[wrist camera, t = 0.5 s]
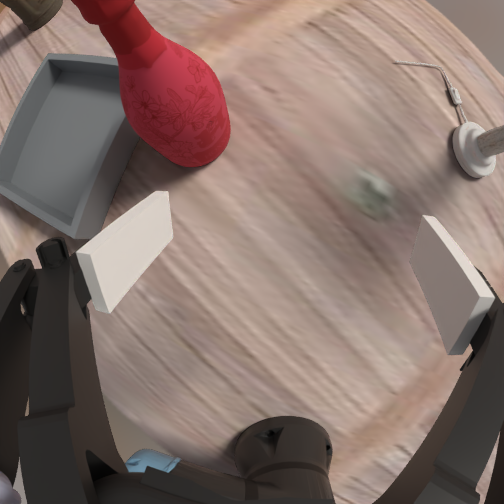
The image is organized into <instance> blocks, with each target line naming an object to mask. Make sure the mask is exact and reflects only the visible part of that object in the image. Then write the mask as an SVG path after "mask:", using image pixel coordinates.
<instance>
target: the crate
mask: <svg viewBox="0 0 504 504" xmlns="http://www.w3.org/2000/svg"><path fill="white" fill-rule="evenodd" d="M139 138H140V136H139V135H138V134H137V133H136V132H135V131H134V129H133V128H132V127H131V125H130V123H129V122H128V120H127V117H126V115H125V112H124V109H123V106H122V102H121V96H120V84H119V67H118V61H117V58H111V57H102V56H92V55H78V54H54V53H48V54H47V56H46V57H45V59H44V60H43V62H42V64H41V65H40V67H39V68H38V70H37V72H36V73H35V75H34V77H33V78H32V80H31V82H30V84H29V86H28V87H27V89H26V91H25V93H24V95H23V97H22V99H21V101H20V103H19V105H18V107H17V109H16V111H15V113H14V115H13V117H12V119H11V121H10V124H9V126H8V128H7V130H6V133H5V135H4V138H3V140H2V143H1V145H0V193H1V194H2V195H4V196H5V197H7V198H8V199H10V200H11V201H13V202H14V203H16V204H17V205H19V206H21V207H22V208H24V209H25V210H27V211H28V212H30V213H32V214H33V215H35V216H36V217H38V218H40V219H41V220H43V221H45V222H46V223H48V224H49V225H51V226H53V227H54V228H56V229H58V230H59V231H61V232H63V233H65V234H66V235H68V236H70V237H71V238H73V239H91V238H93V237H94V236H95V235H96V234H98V233H100V231H101V228H102V226H103V223H104V220H105V217H106V215H107V212H108V209H109V207H110V204H111V202H112V199H113V196H114V194H115V192H116V189H117V187H118V184H119V182H120V180H121V177H122V175H123V173H124V170H125V168H126V166H127V164H128V161H129V159H130V157H131V155H132V153H133V151H134V149H135V147H136V144H137V142H138V140H139Z"/></svg>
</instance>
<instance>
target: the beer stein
mask: <svg viewBox="0 0 504 504" xmlns="http://www.w3.org/2000/svg"><path fill="white" fill-rule="evenodd" d="M0 2H1V3H3V4H4V5H5V6H7V7H9V8H11V10H12V11H13V12H14V13H15V14H16V15H17V16H19V17H20V18H21V19H22V21H23V23H24V24H25V25H27V26H28V28H29V29H30V30H36V29H38V28H40V27H42V26H43V25H44V24H46V23H47V22H48V21H49V20H50V19H51V18H52V17H53V16H54V15H55V14H56V13H57V12H58V11H59V9H60V7H61V6H62V3H63V0H0Z"/></svg>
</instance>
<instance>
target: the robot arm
mask: <svg viewBox="0 0 504 504" xmlns="http://www.w3.org/2000/svg"><path fill="white" fill-rule="evenodd" d="M172 239H173V230H172V222H171V214H170V205H169V195H168V191H155V192H153V193H152V194H151V195H149V196H148V197H146V198H145V199H144V200H142V201H141V202H139V203H138V204H137V205H135V206H134V207H132V208H131V209H130V210H128V211H127V212H126V213H124V214H123V215H122V216H120V217H119V218H118V219H116V220H115V221H114V222H113V223H111V224H110V225H109V226H107V227H106V228H105V229H104V230H102V231H101V232H100V233H98V234H96V235H95V236H94V237H93V238H91V240H89V241H88V242H87V243H85V245H83V246H82V247H81V248H79V249H78V250H77V251H76V252H75V253H73V254H72V255H71V256H70V257H69V254H68V250H67V247H66V244H65V240H64V238H62V237H56V238H51V239H49V240H46V241H44V242H43V243H41V244H40V245H39V246H38V247H37V248H36V252H37V255H38V258H39V260H40V263H41V266H42V269H34V266H33V264H32V261H31V260H30V259H23V260H18V261H17V262H15V264H13V265H12V266H11V267H10V268H9V269H8V271H7V273H6V274H5V275H4V277H3V279H2V280H1V282H0V504H21V497H20V495H19V493H18V492H17V491H16V490H14V489H13V485H14V482H15V478H16V473H17V468H18V462H19V456H20V464H21V472H22V478H23V484H24V490H25V494H26V499H27V504H336V503H335V500H334V496H333V492H332V489H331V485H330V482H329V478H328V474H329V469H330V464H331V459H332V444H331V441H330V438H329V435H328V433H327V432H326V430H325V429H324V428H323V427H322V426H320V425H319V424H318V423H316V422H314V421H312V420H309V419H306V418H302V417H295V416H282V417H274V418H270V419H266V420H263V421H260V422H258V423H256V424H254V425H252V426H251V427H249V428H248V429H247V430H246V431H244V432H243V433H242V435H241V436H240V437H239V439H238V441H237V443H236V448H235V464H236V467H237V469H238V472H239V474H240V477H236V476H232V475H229V474H225V473H221V472H218V471H214V470H211V469H208V468H204V467H201V466H198V465H195V464H192V463H189V462H186V461H183V460H181V458H179V457H172V456H169V455H166V454H163V453H160V452H158V451H155V450H152V449H142V450H139V451H137V452H136V453H135V454H133V455H132V456H131V457H130V458H129V459H128V460H127V462H126V463H124V462H123V460H122V458H121V457H120V455H119V453H118V451H117V449H116V446H115V442H114V439H113V436H112V432H111V429H110V425H109V421H108V417H107V414H106V409H105V405H104V401H103V396H102V392H101V387H100V382H99V377H98V372H97V366H96V360H95V354H94V347H93V340H92V332H91V324H90V314H89V310H88V307H87V305H86V304H87V303H88V302H89V301H90V300H91V299H92V302H93V304H94V307H95V309H96V310H97V311H101V312H104V313H108V314H110V313H111V312H112V310H113V309H114V308H115V307H116V305H117V304H118V303H119V302H120V300H121V299H122V298H123V297H124V295H125V294H126V293H127V292H128V290H129V289H130V288H131V287H132V285H133V284H134V283H135V282H136V281H137V279H138V278H139V277H140V276H141V275H142V273H143V272H144V271H145V270H146V269H147V267H148V266H149V265H150V264H151V263H152V262H153V260H154V259H155V258H156V257H157V256H158V255H159V253H160V252H161V251H162V250H163V249H164V248H165V247H166V245H167V244H168V243H169V242H170V241H171V240H172ZM409 262H410V264H411V266H412V268H413V271H414V273H415V275H416V277H417V279H418V281H419V284H420V286H421V288H422V290H423V293H424V295H425V297H426V300H427V302H428V304H429V307H430V309H431V312H432V314H433V316H434V319H435V322H436V324H437V327H438V329H439V332H440V335H441V337H442V340H443V343H444V346H445V349H446V352H447V355H462V354H463V353H464V352H465V350H466V348H467V347H468V345H469V344H471V346H472V349H473V351H472V353H471V354H470V356H469V357H468V359H467V360H466V361H465V363H464V364H463V366H462V367H461V369H460V371H462V370H463V371H462V373H461V375H460V377H459V379H458V381H457V383H456V385H455V387H454V389H453V391H452V393H451V395H450V397H449V399H448V401H447V403H446V405H445V406H444V408H443V410H442V412H441V413H440V415H439V417H438V419H437V420H436V422H435V424H434V425H433V427H432V429H431V430H430V432H429V433H428V435H427V436H426V438H425V440H424V441H423V443H422V444H421V446H420V447H419V449H418V450H417V451H416V453H415V454H414V456H413V457H412V459H411V460H410V461H409V463H408V464H407V465H406V467H405V468H404V469H403V471H402V472H401V473H400V474H399V476H398V477H397V478H396V480H395V481H394V482H393V483H392V484H391V486H390V487H389V488H388V489H387V490H386V491H385V493H384V494H383V495H382V496H381V497H380V498H378V499H377V500H376V501H375V502H374V503H372V504H478V503H479V501H480V494H479V493H477V492H476V491H475V490H476V486H477V483H478V481H479V479H480V477H481V475H482V473H483V471H484V469H485V467H486V464H487V462H488V460H489V457H490V455H491V453H492V450H493V448H494V445H495V443H496V440H497V438H498V435H499V432H500V437H499V443H498V449H497V454H496V460H495V464H494V469H493V473H492V477H491V481H490V485H489V489H488V492H487V496H486V499H485V502H484V504H504V303H502V302H501V300H500V299H499V297H498V296H497V294H496V293H495V291H494V290H493V288H492V287H490V286H491V285H490V284H489V282H488V281H486V280H487V279H486V278H485V277H484V275H483V274H482V272H481V271H479V270H478V269H477V268H476V267H475V266H474V265H473V264H472V263H471V262H470V260H469V259H468V258H467V256H466V255H465V254H464V252H463V251H462V250H461V248H460V247H459V246H458V245H457V243H456V242H455V241H454V239H453V238H452V237H451V236H450V235H449V233H448V232H447V231H446V230H445V228H444V227H443V226H442V225H441V224H440V223H439V221H438V220H437V219H436V218H435V217H433V216H427V215H422V217H421V221H420V225H419V229H418V233H417V237H416V240H415V244H414V247H413V251H412V254H411V258H410V261H409ZM20 304H22V306H23V308H24V310H25V312H24V314H22V312H21V305H20ZM28 396H29V415H28V416H25V411H26V406H27V401H28Z"/></svg>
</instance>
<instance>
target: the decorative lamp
mask: <svg viewBox="0 0 504 504" xmlns="http://www.w3.org/2000/svg"><path fill="white" fill-rule="evenodd" d="M395 62H403V63H413V64H422V65H429V66H436V67H439V68H441V67H440V66H437V65H431V64H424V63H415V62H405V61H395ZM441 69H442V68H441ZM442 71H443V73H444V75H445V78H446V80H447V82H448V84H449V86H450V88H448V90H449V92H450V95H451V97H452V100H453V102H454V104H456V105H459V108H460V111H461V115H462V117H463V119H464V121H465V123H464V124H462V125H460V126H458V127H457V128H456V129H455V131H454V134H453V149H454V152H455V155H456V158H457V160H458V162H459V164H460V165H461V167H462V168H463V169H464V170H465V172H467V173H468V174H469V175H471V176H472V177H475V178H481V177H485V176H488V175H490V174H491V173H492V172H493V170H494V168H495V163H496V156H495V155H497V154H499V153H502V152H504V125H503V126H500V127H497V128H494V129H491V130H489V131H487V132H485V130H484V129H483V128H482V127H480V126H479V125H478V124H476V123H474V122H468V121H467V119H466V117H465V115H464V113H463V110H462V108H461V104H462V101H461V99H460V96H459V94H458V90H457V89H456V88H453V87H452V84H451V83H450V81H449V80H448V78H447V75H446V74H445V72H444V70H443V69H442Z"/></svg>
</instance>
